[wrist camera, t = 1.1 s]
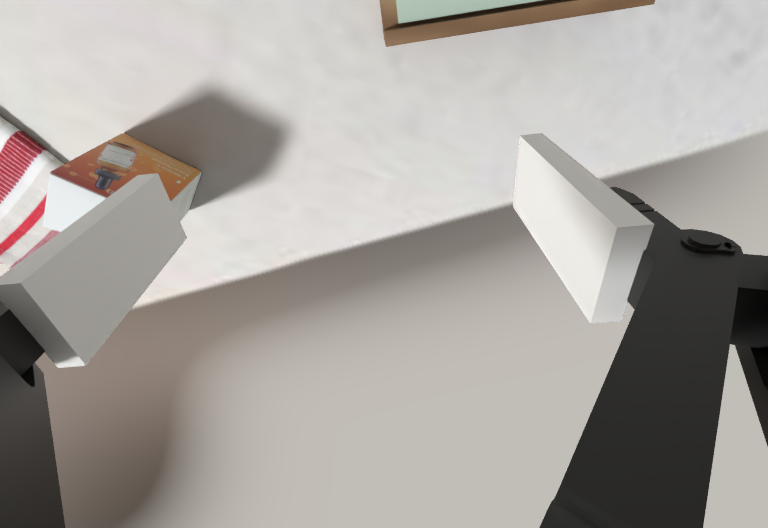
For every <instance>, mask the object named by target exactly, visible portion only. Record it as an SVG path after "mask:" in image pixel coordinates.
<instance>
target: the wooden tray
mask: <svg viewBox="0 0 768 528" xmlns="http://www.w3.org/2000/svg"><path fill="white" fill-rule="evenodd" d="M654 2H655V0H542V1H536V2H529V3H523V4H517V5H511V6H505V7H499V8H492V9H486V10H480V11H474V12H468V13H462V14H455V15H449V16H443V17H437V18H431V19H425V20H418V21H412V22H406V23H400V24H399V23H398V15H397V5H396V0H380V6H381V15H382V23H383V32H384V40H385V45H386V47H387V46H393V45H400V44H406V43H412V42H419V41H425V40H431V39H437V38H444V37H450V36H456V35H463V34H469V33H475V32H481V31H488V30H494V29H500V28H507V27H513V26H519V25H526V24H532V23H538V22H544V21H551V20H557V19H563V18H570V17H576V16H582V15H588V14H595V13H601V12H607V11H614V10H620V9H626V8H632V7H639V6H645V5H651V4H654Z"/></svg>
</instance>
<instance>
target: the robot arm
mask: <svg viewBox="0 0 768 528" xmlns="http://www.w3.org/2000/svg"><path fill="white" fill-rule="evenodd" d="M513 207H514V209H515V210H516V211H517V213H518V215H519V216H520V218H521V219H522V221H523V222H524V224H525V225H526V227H527V228H528V230H529V231H530V233H531V234H532V236H533V238H534V239H535V240H536V242H537V244H538V245H539V246H540V248H541V250H542V251H543V253H544V254H545V256H546V257H547V259H548V260H549V262H550V263H551V265H552V266H553V268H554V269H555V271H556V272H557V274H558V275H559V277H560V278H561V280H562V281H563V283H564V284H565V286H566V287H567V289H568V290H569V292H570V293H571V295H572V296H573V298H574V299H575V301H576V302H577V304H578V305H579V307H580V308H581V310H582V312H583V313H584V314H585V316H586V318H587V319H588V321H589V322H590V323H591V324H592V323H602V322H603V323H604V322H615V321H622V318H623V316H624V313H625V309H626V307H627V303H628V302H629V303H630V304H631V306H632V307H633V308H634V309H635V311H634V313H633V315H632V318H631V320H630V322H629V325H628V327H627V329H626V332H625V334H624V337H623V339H622V341H621V344H620V346H619V349H618V351H617V353H616V355H615V358H614V360H613V362H612V365H611V368H610V370H609V372H608V375H607V377H606V379H605V382H604V384H603V386H602V388H601V391H600V393H599V396H598V398H597V400H596V403H595V405H594V407H593V410H592V412H591V414H590V417H589V419H588V422H587V424H586V426H585V429H584V431H583V433H582V436H581V438H580V440H579V443H578V445H577V448H576V450H575V452H574V454H573V457H572V459H571V462H570V464H569V467H568V469H567V471H566V473H565V476H564V478H563V480H562V483H561V485H560V488H559V490H558V492H557V494H556V497H555V498H554V500H553V501H552V502H551V504H550V506H549V508H548V510H547V512H546V515H545V517H544V519H543V521H542V523H541V526H540V528H703V523H704V516H705V509H706V503H707V496H708V489H709V482H710V475H711V469H712V462H713V455H714V448H715V441H716V434H717V427H718V421H719V414H720V407H721V400H722V393H723V386H724V380H725V373H726V366H727V359H728V353H729V346H730V344H733V345H735V346H736V350H737V353H738V356H739V359H740V362H741V365H742V368H743V371H744V374H745V378H746V381H747V384H748V387H749V390H750V393H751V396H752V399H753V402H754V405H755V408H756V411H757V415H758V417H759V421H760V424H761V427H762V430H763V433H764V436H765V439H766V442H767V446H768V256H761V255H749V254H743V252H742V249H741V247H740V246H739V245H737V244H736V243H735V242H734V241H732V240H730V239H728V238H726V237H724V236H722V235H719V234H715V233H712V232H707V231H702V230H693V229H687V230H681V229H679V228H678V227H677V226H675V225H674V224H673V223H671V222H670V221H669V220H668V219H666V218H665V217H664V216H662V215H661V214H660V213H658V212H657V211H654V209H653V208H652V207H650V206H649V205H648V204H645V202H644V201H642V200H641V199H639V198H638V197H637V196H636V195H634V194H633V193H630V192H627V191H625V190H623V189H620V188H617V187H612V188H609V187H608V186H606V185H605V184H604V183H603V182H602V181H600V180H599V179H598V178H597V177H595V176H594V175H593V174H592V173H590V172H589V171H588V170H587V169H586V168H584V167H583V166H582V165H581V164H579V163H578V162H577V161H576V160H574V159H573V158H572V157H571V156H569V155H568V154H567V153H566V152H564V151H563V150H562V149H561V148H559V147H558V146H557V145H556V144H555V143H553V142H552V141H551V140H550V139H548V138H547V137H546V136H545V135H543V134H542V133H541V134H531V135H521V136H520V140H519V151H518V161H517V171H516V181H515V191H514V201H513ZM186 238H187V237H186V235H185V232H184V230H183V228H182V226H181V223H180V221H179V219H178V217H177V214H176V212H175V210H174V208H173V206H172V203H171V201H170V199H169V197H168V194H167V192H166V190H165V188H164V186H163V183H162V181H161V179H160V177H159V174H158V173H154V174H144V175H137V176H136V177H134V178H133V179H132V180H130V181H129V182H128V183H126V184H125V185H124V186H122V187H121V188H120V189H118V190H117V191H116V192H114V193H113V194H112V195H110V196H109V197H107V198H106V199H105V200H103V201H102V202H101V203H99V204H98V205H97V206H95V207H94V208H93V209H91V210H90V211H89V212H87V213H86V214H85V215H83V216H82V217H80V218H79V219H78V220H76V221H75V222H74V223H72V224H71V225H70V226H68V227H67V228H66V229H64V230H63V231H62V232H60V233H59V234H57V235H56V236H55V237H53V238H52V239H51V240H49V241H48V242H47V243H45V244H44V245H43V246H41V247H40V248H39V249H37V250H36V251H35V252H33V253H32V254H30V255H29V256H28V257H26V258H25V259H24V260H22V261H21V262H20V263H18V264H17V265H16V266H14V267H13V268H12V269H10V270H9V271H8V272H6V273H5V274H3V275H2V276H1V277H0V528H65V523H64V516H63V508H62V501H61V495H60V487H59V480H58V473H57V466H56V459H55V452H54V445H53V438H52V431H51V424H50V417H49V410H48V402H47V395H46V389H45V382H44V375H43V372H42V371H41V369H40V368H39V367H38V366H37V365H36V364H35V361H36V360H37V359H38V358H39V357H40V356H41V355H42V354H43V353H44V352H45V353H46V354H47V355H48V357H49V358H50V359H51V360H52V361H53V362H54V364H55V365H56V366H57V367H58V368H62V367H74V366H86V365H87V364H88V362H89V361H90V360H91V359H92V357H93V356H94V355H95V354H96V352H97V351H98V350H99V348H100V347H101V346H102V345H103V343H104V342H105V341H106V340H107V338H108V337H109V336H110V334H111V333H112V332H113V331H114V329H115V328H116V327H117V326H118V324H119V323H120V321H122V319H123V318H124V317H125V315H126V314H127V313H128V312H129V310H130V309H131V308H132V307H133V305H134V304H135V303H136V302H137V300H138V299H139V298H140V297H141V295H142V294H143V293H144V291H145V290H146V289H147V288H148V286H149V285H150V284H151V283H152V281H153V280H154V279H155V278H156V276H157V275H158V274H159V273H160V271H161V270H162V269H163V267H164V266H165V265H166V264H167V262H168V261H169V260H170V259H171V257H172V256H173V255H174V254H175V252H176V251H177V250H178V248H179V247H180V246H181V245H182V243H183V242H184V241H185V240H186Z"/></svg>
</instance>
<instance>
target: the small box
mask: <svg viewBox="0 0 768 528" xmlns="http://www.w3.org/2000/svg"><path fill="white" fill-rule="evenodd" d="M154 173H158V174H159V177H160V179H161V181H162V183H163V186H164V188H165V190H166V192H167V194H168V197H169V199H170V201H171V203H172V206H173V208H174V210H175V212H176V214H177V217H178V219H179V221H181V220H182V218H183V217H184V216H185V215H186V214H187V213H188V211H189V208H190V205H191V202H192V200H193V197H194V194H195V191H196V188H197V185H198V182H199V180H200V177H201V174H202V171H200V170H198V169H196V168H194V167H192V166H189V165H187V164H185V163H183V162H181V161H179V160H177V159H175V158H172V157H170V156H168V155H167V154H164V153H162V152H160V151H158V150H156V149H154V148H152V147H150V146H148V145H146V144H144V143H142V142H140V141H138V140H136V139H134V138H133V137H131V136H129V135H127V134H124V133H123V134H120V135H118V136H116V137H114V138H112V139H110V140H109V141H107V142H105V143H103V144H101V145H99V146H97V147H96V148H94V149H92V150H90V151H88V152H86V153H84V154H82V155H81V156H79V157H77V158H75V159H73V160H71V161H70V162H68V163H66V164H64V165H62V166H60V167H58V168H57V169H55V170H53V171H51V172H50V174H49V182H48V189H47V197H46V204H45V212H44V219H43V226H44V227H46V228H49V229H52V230H55V231H58V232H62V231H63V230H64V229H66V228H67V227H68V226H70V225H71V224H72V223H74V222H75V221H76V220H78V219H79V218H80V217H82V216H83V215H85V214H86V213H87V212H89V211H90V210H91V209H93V208H94V207H95V206H97V205H98V204H99V203H101V202H102V201H103V200H105V199H106V198H107V197H109V196H110V195H112V194H113V193H114V192H116V191H117V190H118V189H120V188H121V187H122V186H124V185H125V184H126V183H128V182H129V181H130V180H132V179H133V178H134V177H136V176H137V175H144V174H154Z"/></svg>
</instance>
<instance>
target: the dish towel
mask: <svg viewBox="0 0 768 528" xmlns="http://www.w3.org/2000/svg"><path fill="white" fill-rule="evenodd" d="M62 165H64V163H63V162H61V161H60V160H59V159H58V158H56V157H55V156H54V155H53V154H51V153H50V152H49V151H47V150H46V149H45V148H44V147H42V146H41V145H40V144H38V143H37V142H36V141H34V140H33V139H32V138H30V137H29V136H28V135H26V134H25V133H24V132H22V131H21V130H19V129H18V128H17V127H15V126H14V125H12V124H11V123H9V122H8V121H6V120H5V119H4V118H2V117H1V116H0V263H1V264H3V265H5V266H7V267H8V268H9V269H12V268H13V267H14V266H16V265H17V264H18V263H20V262H21V261H22V260H24V259H25V258H26V257H28V256H29V255H30V254H32V253H33V252H35V251H36V250H37V249H39V248H40V247H41V246H43V245H44V244H45V243H47V242H48V241H49V240H51V239H52V238H53V237H55V236H56V235H57V234H59V233H60V232H58V231H55V230H52V229H49V228H46V227H44V226H43V219H44V212H45V204H46V197H47V189H48V182H49V174H50V172H51V171H53V170H55V169H57V168H58V167H60V166H62Z"/></svg>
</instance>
